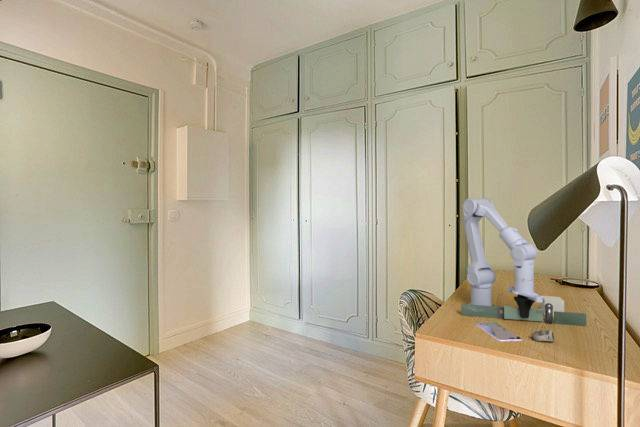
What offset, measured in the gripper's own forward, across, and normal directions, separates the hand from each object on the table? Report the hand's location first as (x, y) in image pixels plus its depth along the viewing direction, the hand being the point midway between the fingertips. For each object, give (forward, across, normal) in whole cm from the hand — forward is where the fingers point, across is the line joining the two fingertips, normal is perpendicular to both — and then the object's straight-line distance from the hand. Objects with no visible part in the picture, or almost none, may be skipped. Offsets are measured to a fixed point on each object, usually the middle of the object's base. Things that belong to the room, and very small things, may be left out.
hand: (524, 317), depth 112 cm
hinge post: (+2, +3, +13) cm, 13 cm away
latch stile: (+2, -7, -11) cm, 13 cm away
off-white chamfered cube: (+2, -8, +17) cm, 18 cm away
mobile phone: (+2, +7, -14) cm, 16 cm away
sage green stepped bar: (+1, -2, +1) cm, 2 cm away
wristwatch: (+1, +12, -5) cm, 13 cm away
